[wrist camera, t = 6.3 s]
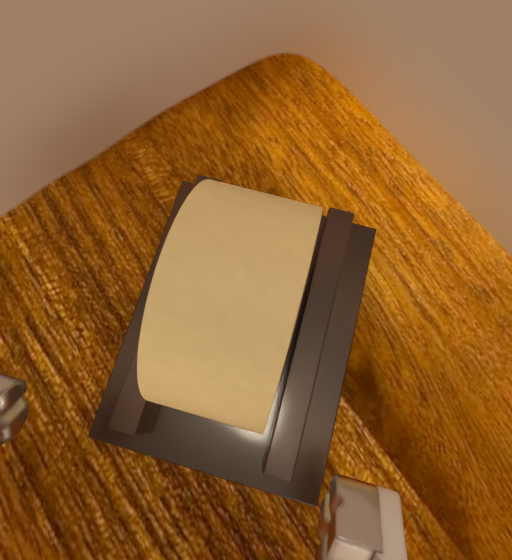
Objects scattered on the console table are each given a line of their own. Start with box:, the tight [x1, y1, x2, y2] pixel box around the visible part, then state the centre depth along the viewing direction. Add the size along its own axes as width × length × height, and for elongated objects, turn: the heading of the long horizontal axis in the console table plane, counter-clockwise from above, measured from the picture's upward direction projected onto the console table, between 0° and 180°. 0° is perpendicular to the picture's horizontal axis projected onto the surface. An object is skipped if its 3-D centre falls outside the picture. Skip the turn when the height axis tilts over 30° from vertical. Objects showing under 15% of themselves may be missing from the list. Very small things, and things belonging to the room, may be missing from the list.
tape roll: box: [137, 179, 323, 434], centre depth 17 cm, size 9×5×9 cm, turn 164°
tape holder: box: [88, 175, 376, 507], centre depth 21 cm, size 14×11×4 cm
